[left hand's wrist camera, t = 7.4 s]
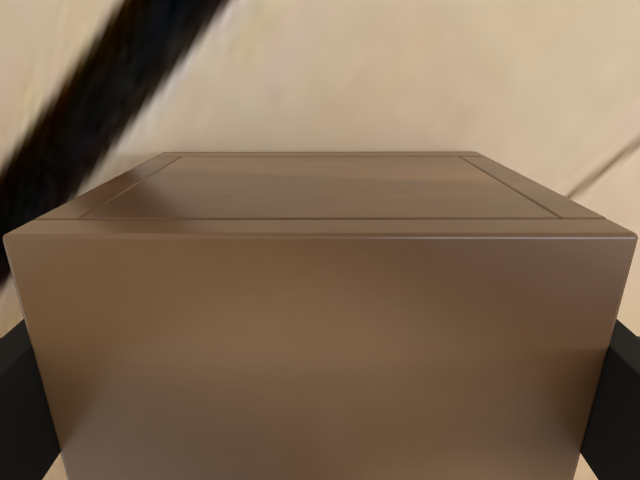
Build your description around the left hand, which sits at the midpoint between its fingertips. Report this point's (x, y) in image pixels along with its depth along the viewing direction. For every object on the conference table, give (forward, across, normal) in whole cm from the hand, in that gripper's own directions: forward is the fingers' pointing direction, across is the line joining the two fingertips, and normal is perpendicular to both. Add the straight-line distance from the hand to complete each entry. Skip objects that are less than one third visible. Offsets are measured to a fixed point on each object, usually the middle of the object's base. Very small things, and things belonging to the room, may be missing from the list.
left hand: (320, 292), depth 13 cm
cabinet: (+4, 0, -6) cm, 7 cm away
